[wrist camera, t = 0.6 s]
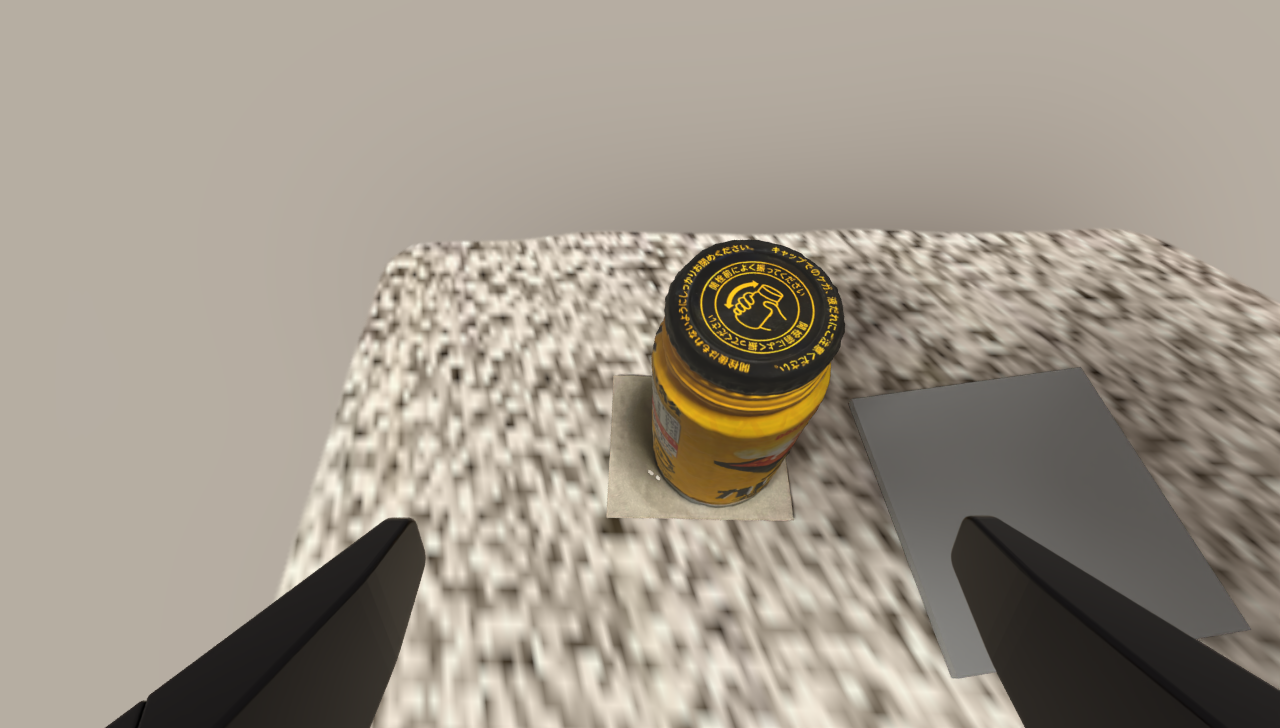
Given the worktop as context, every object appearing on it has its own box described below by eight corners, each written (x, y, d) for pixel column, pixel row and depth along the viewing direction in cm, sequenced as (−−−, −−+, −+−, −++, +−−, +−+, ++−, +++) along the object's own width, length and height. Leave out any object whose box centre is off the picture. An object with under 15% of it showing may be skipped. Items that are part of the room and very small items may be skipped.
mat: (1238, 630, 21) (1251, 629, 20) (951, 677, 20) (958, 678, 20) (1073, 371, 27) (1080, 367, 26) (848, 403, 26) (851, 399, 26)
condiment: (792, 521, 23) (903, 412, 13) (606, 518, 24) (567, 408, 13) (775, 379, 27) (850, 204, 17) (613, 378, 27) (588, 205, 17)
